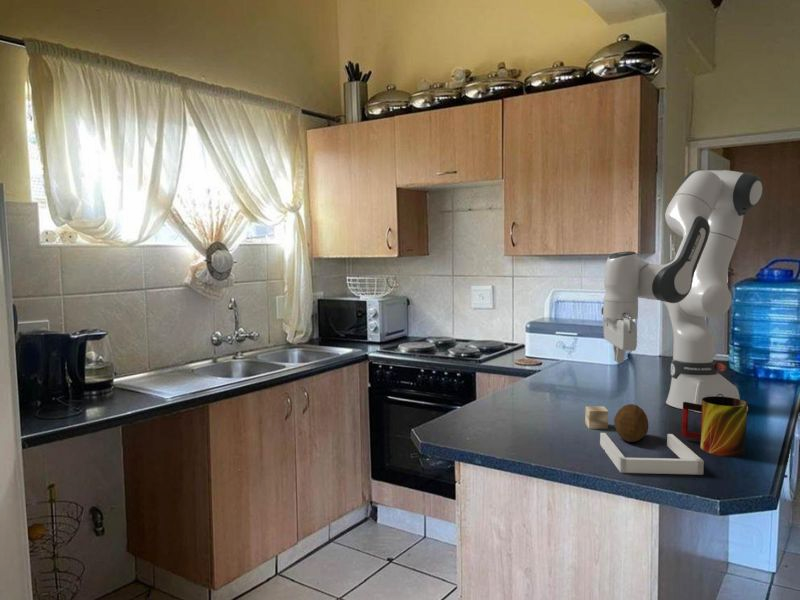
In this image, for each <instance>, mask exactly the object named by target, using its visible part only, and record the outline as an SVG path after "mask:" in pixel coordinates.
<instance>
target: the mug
mask: <svg viewBox="0 0 800 600" xmlns="http://www.w3.org/2000/svg"><path fill="white" fill-rule="evenodd" d="M747 406H748V402H747V401H745V400H742V399H736V398H730V397H719V396H711V397H704V398H702V405H700V404H694V403H689V402H683V409H682V421H681V436H682V437H683V438H689V439H694V440H698V441H700V446H699V447H700V449H701V450H702V451H704V452H706V453H709V454H711V455H716V456H722V457H732V458H733V457H740V456H744V455H745V454H746V440H747V439H746V437H747V419H748V418H747V417H748V415H747V414H748V411H747ZM691 410H693V411H692V412H695V411H699V412H702V413H701V418H700V419H701V421H700V425H701V426H700V432H697V431H692V430H688V429H689V411H691ZM699 412H698V413H699Z"/></svg>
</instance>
